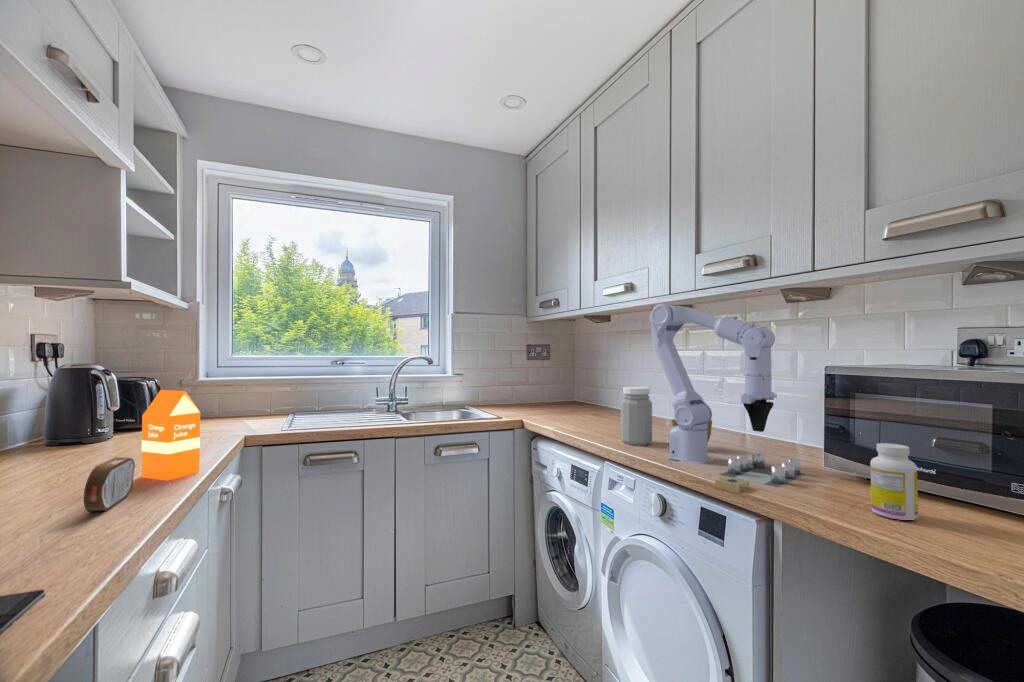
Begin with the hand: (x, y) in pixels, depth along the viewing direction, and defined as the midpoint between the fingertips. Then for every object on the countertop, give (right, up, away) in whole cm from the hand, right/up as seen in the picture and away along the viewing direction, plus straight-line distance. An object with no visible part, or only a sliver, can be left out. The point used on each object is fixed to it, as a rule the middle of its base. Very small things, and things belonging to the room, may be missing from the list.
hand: (758, 431), depth 113 cm
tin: (-138, -10, -25) cm, 140 cm away
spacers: (+1, -10, -2) cm, 10 cm away
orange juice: (-142, -10, -4) cm, 142 cm away
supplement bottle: (+10, -10, -29) cm, 32 cm away
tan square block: (-13, -11, -13) cm, 21 cm away
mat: (0, -10, -2) cm, 11 cm away
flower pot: (-5, -11, +28) cm, 31 cm away
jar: (-20, -11, +36) cm, 43 cm away
